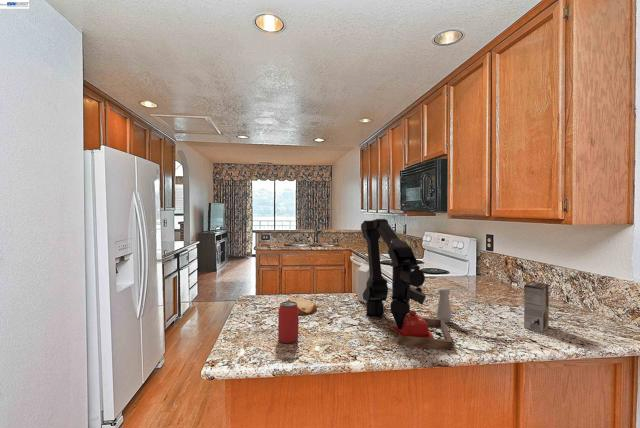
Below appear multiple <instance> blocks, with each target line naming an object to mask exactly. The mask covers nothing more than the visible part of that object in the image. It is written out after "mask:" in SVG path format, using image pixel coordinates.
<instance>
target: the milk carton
mask: <svg viewBox="0 0 640 428" xmlns="http://www.w3.org/2000/svg"><path fill="white" fill-rule="evenodd" d="M369 277H370V272H369V261H368V260H367V261H366V260H363V263H362V264H361V266H360V267H359V268H358V269H357V301H359V302H361V301H362V303H363V302H364V303H363V304H366V303H367V301H366V300H364V299H363V293H364V291H365V289H366V287H367V281H368V279H369Z"/></svg>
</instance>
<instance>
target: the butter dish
mask: <svg viewBox="0 0 640 428" xmlns="http://www.w3.org/2000/svg"><path fill="white" fill-rule="evenodd" d="M422 317H423V316H421V315H418V314H417V312H416V311H415V310H410V312H409V313H408V314H406V315H405V317H404V321H403V325H402V329H401V330H400V329H398V327H397V324H395V325H394V326H392V327H391V328H392V330H393V331H395V333H396V334H398V335H403V336H412V337H422V338H431V339H435V336H434V335H433V333H431V332H430V331H429V325H427V322H426V321H425V320H424V319H423V318H422Z"/></svg>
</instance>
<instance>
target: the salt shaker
mask: <svg viewBox="0 0 640 428" xmlns="http://www.w3.org/2000/svg"><path fill="white" fill-rule="evenodd" d="M437 292H438V294H439V298H438V302H437V303H438V304H437V306H436V307H437V308H436V312H435V316H436V319H444V322H445V324H448V323H450V321H451V319H452V318H453V315H452V310H451V304H450V296H449V295H451V289H450V288H447V287H439V288H438V290H437Z"/></svg>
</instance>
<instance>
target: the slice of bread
mask: <svg viewBox="0 0 640 428" xmlns="http://www.w3.org/2000/svg"><path fill="white" fill-rule="evenodd" d="M287 301H293V302H296V303H297V306H298V310H299V315H300V316H301V315H302V316H310V315H314V314H315V313H316V312H317V311H318V309H317V305H316V303H315V302H313V301H311V300H308V299H305V298H304V299H303V298H298V297H289V298H288V300H287Z"/></svg>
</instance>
